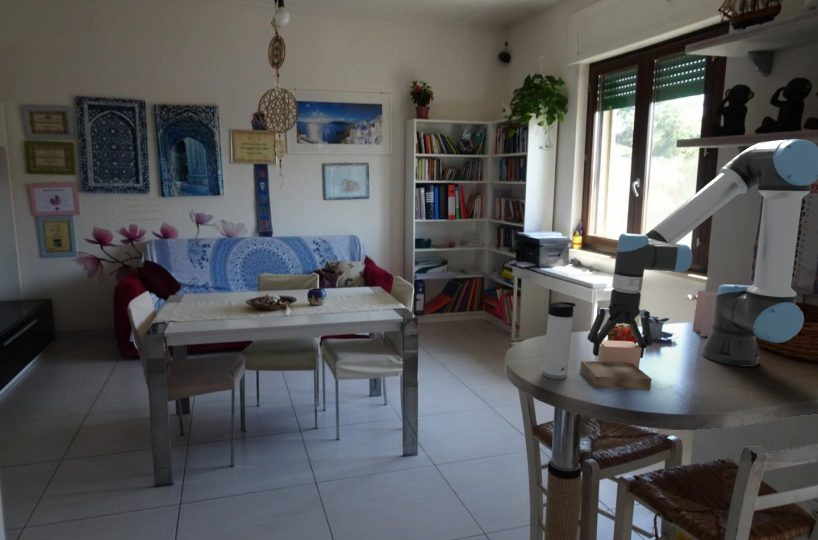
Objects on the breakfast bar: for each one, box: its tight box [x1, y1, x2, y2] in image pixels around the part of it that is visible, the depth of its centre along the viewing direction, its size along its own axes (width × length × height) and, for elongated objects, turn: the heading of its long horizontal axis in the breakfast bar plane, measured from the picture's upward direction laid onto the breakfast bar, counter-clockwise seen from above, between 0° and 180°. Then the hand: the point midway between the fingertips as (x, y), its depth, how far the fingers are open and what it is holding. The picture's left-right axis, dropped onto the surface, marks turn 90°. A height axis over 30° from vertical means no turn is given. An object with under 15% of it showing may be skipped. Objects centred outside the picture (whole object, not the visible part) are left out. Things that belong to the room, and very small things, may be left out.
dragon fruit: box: [606, 324, 638, 345], centre depth 175 cm, size 8×8×12 cm
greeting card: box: [692, 290, 717, 337], centre depth 196 cm, size 11×7×15 cm, turn 66°
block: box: [601, 339, 641, 369], centre depth 156 cm, size 10×6×7 cm, turn 91°
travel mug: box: [542, 301, 576, 380], centre depth 147 cm, size 6×7×20 cm
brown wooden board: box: [579, 360, 652, 391], centre depth 147 cm, size 14×12×3 cm
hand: (616, 367), depth 156 cm, fingers closed on block, 10 cm apart
